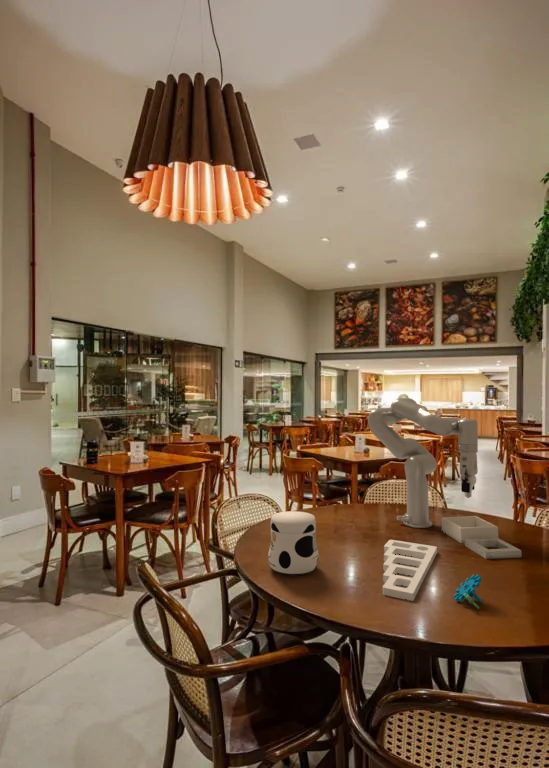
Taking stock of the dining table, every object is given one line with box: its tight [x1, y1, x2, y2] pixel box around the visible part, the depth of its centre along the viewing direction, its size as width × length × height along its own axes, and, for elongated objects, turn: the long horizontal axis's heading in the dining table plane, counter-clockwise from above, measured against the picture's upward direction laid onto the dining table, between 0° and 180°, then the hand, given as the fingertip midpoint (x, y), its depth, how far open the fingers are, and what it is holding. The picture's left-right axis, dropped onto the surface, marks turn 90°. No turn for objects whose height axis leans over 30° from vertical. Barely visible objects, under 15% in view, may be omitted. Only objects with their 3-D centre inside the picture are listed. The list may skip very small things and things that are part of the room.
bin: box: [441, 515, 499, 544], centre depth 188 cm, size 16×16×6 cm
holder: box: [382, 539, 438, 602], centre depth 154 cm, size 45×18×3 cm, turn 152°
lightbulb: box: [459, 474, 477, 499], centre depth 189 cm, size 6×6×11 cm
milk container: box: [267, 510, 320, 577], centre depth 153 cm, size 17×17×18 cm
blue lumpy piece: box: [453, 574, 483, 610], centre depth 129 cm, size 11×6×10 cm
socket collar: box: [464, 537, 523, 560], centre depth 170 cm, size 14×14×2 cm
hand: (468, 490), depth 188 cm, fingers closed on lightbulb, 6 cm apart
